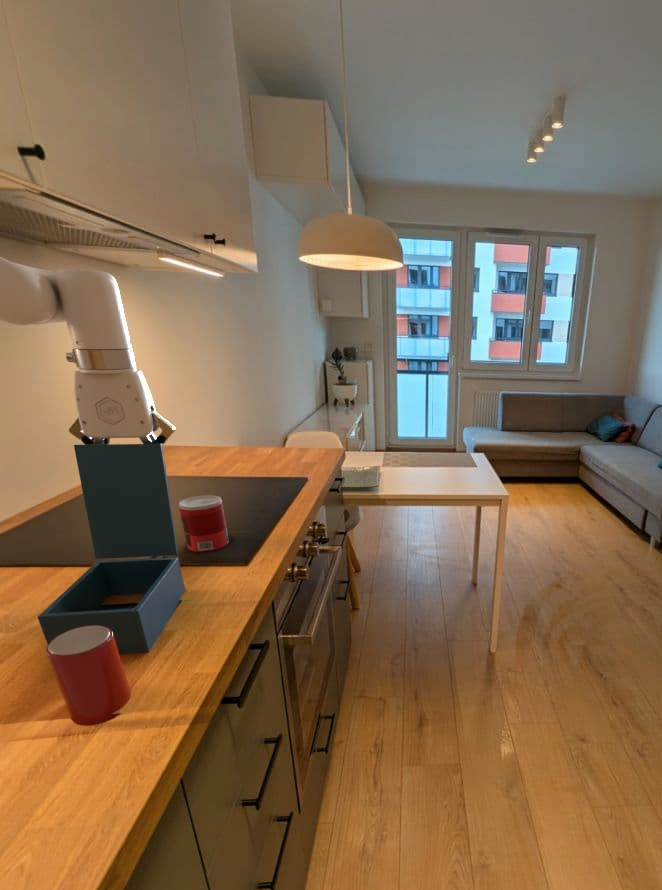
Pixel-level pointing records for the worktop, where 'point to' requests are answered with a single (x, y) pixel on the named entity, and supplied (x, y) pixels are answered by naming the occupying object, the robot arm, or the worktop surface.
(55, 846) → the worktop surface
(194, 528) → the canned food
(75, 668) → the can
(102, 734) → the worktop surface
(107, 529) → the lid
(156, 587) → the open box
